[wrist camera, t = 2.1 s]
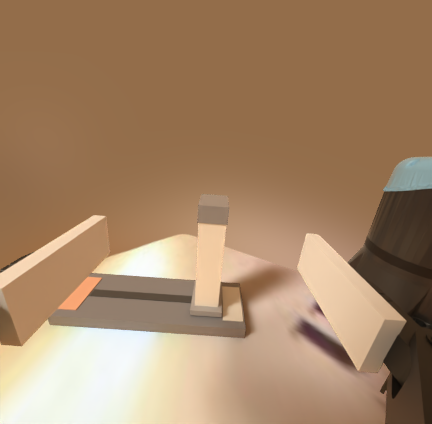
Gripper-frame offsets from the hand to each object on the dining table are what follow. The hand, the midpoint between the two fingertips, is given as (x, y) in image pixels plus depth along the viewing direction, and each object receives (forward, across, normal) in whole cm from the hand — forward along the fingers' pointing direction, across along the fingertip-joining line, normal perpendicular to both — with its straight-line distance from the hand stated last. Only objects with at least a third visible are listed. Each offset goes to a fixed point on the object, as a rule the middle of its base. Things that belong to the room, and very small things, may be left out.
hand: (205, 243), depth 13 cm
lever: (+10, 0, -15) cm, 18 cm away
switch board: (+10, -6, -16) cm, 20 cm away
